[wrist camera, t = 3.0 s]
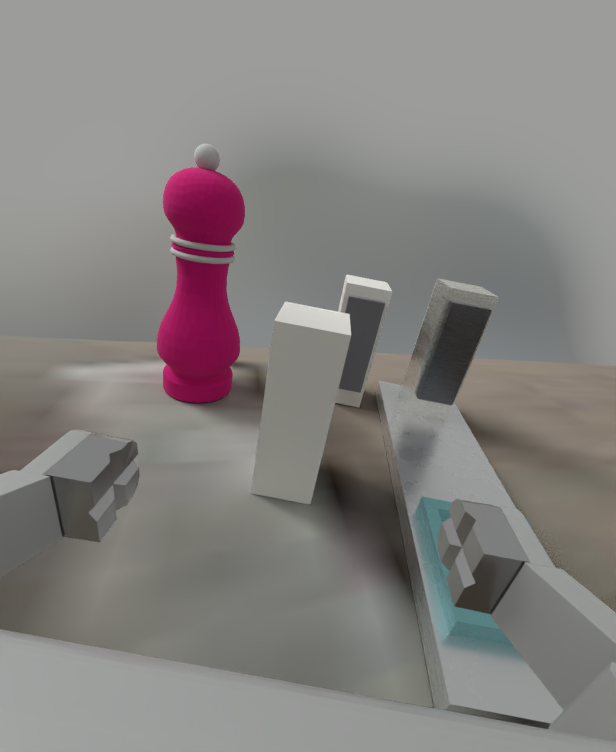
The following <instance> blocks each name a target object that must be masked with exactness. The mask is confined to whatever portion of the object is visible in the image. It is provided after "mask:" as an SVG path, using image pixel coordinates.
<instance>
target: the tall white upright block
mask: <svg viewBox="0 0 616 752" xmlns="http://www.w3.org/2000/svg"><path fill="white" fill-rule="evenodd" d="M350 339H351V326H350V314H347V313H341V312H336V311H330V310H326V309H321V308H315V307H310V306H305V305H300V304H295V303H289V302H285V303H284V305H283V307H282V308H281V310H280V312H279V314H278V315H277V317H276V319H275V320H274V327H273V334H272V342H271V349H270V356H269V363H268V371H267V378H266V386H265V393H264V400H263V408H262V415H261V423H260V430H259V437H258V445H257V452H256V459H255V467H254V474H253V482H252V489H251V493H252V494H257V495H262V496H267V497H273V498H278V499H283V500H288V501H293V502H298V503H304V504H309V505H310V504H311V500H312V496H313V492H314V488H315V484H316V479H317V475H318V471H319V467H320V463H321V459H322V455H323V450H324V446H325V442H326V438H327V434H328V430H329V426H330V422H331V417H332V413H333V409H334V405H335V401H336V397H337V393H338V389H339V384H340V380H341V376H342V372H343V368H344V364H345V360H346V355H347V351H348V347H349V343H350Z"/></svg>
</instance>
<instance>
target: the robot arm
mask: <svg viewBox="0 0 616 752" xmlns="http://www.w3.org/2000/svg"><path fill="white" fill-rule="evenodd" d="M137 455H138V449H137V443H136V442H134V441H133V440H128V439H123V438H118V437H113V436H109V435H104V434H99V433H92V432H87V431H82V430H77V429H75V430H71V431H69V432H67V433H66V434H65V435H64V436H62V437H61V438H60V439H59V440H57V441H56V442H55V443H54V444H52V445H51V446H50V447H49V448H47V449H46V450H45V451H44V452H43V453H41V454H40V455H39V456H38V457H36V458H35V459H34V460H33V461H31V462H30V463H29V464H28V465H26V466H25V467H24V468H23V469H21V470H20V471H17V470H11V471H8V472H5V473H2V474H0V578H1V577H3V576H4V575H6V574H7V573H9V572H11V571H12V570H14V569H15V568H17V567H19V566H20V565H22V564H23V563H25V562H27V561H28V560H30V559H31V558H33V557H35V556H36V555H38V554H39V553H41V552H42V551H44V550H46V549H47V548H49V547H50V546H52V545H54V544H55V543H57V542H58V541H60V540H62V539H63V537H69V538H75V539H82V540H89V541H95V542H100V541H101V540H102V538H103V537H104V536H105V534H106V533H107V532H108V530H109V529H110V528H111V526H112V525H113V523H114V522H115V521H116V519H117V518H116V510H118V509H120V508H122V507H124V506H126V505H127V504H128V503H129V501H130V500H131V498H132V497H133V495H134V493H135V490H136V488H137V485H138V481H139V467H138V466H137V465H136V463H135V462H134V461H133V459H134V458H135V457H136V456H137ZM448 511H449V513H450V516H451V518H449V519H448V520H446V521H444V522H443V523H442V525H441V527H440V530H439V533H438V543H437V544H438V553H439V556H440V560H441V562H442V563H443V564H444V566H445V567H446V568H447V569H448V570H449V571H450V572H449V574H448V576H447V578H446V581H447V584H448V587H449V591H450V594H451V597H452V601H453V604H454V607H459V608H463V609H468V610H473V611H477V612H482V613H487V614H491V618H492V619H493V620H494V621H495V623H496V624H497V625H498V627H499V628H500V629H501V630H502V632H503V633H504V634H505V636H506V637H507V638H508V639H509V641H510V642H511V643H512V645H513V646H514V647H515V648H516V650H517V651H518V652H519V654H520V655H521V656H522V657H523V659H524V660H525V661H526V663H527V664H528V665H529V666H530V668H531V669H532V670H533V672H534V673H535V674H536V676H537V677H538V678H539V679H540V681H541V682H542V683H543V685H544V686H545V687H546V688H547V690H548V691H549V692H550V694H551V695H552V696H553V697H554V699H555V700H556V701H557V703H558V704H559V705H560V706H561V708H562V709H563V710H564V711H563V712H562V713H561V714H560V715H559V716H558V717H557V718H556V719H555V720H554V721H553V722H552V723H551V724H550V726H549V728H548V729H544V728H538V727H533V726H527V725H522V724H516V723H511V722H505V721H500V720H494V719H489V718H484V717H478V716H473V715H467V714H462V713H456V712H451V711H445V710H440V709H434V708H429V707H424V706H418V705H413V704H407V703H402V702H396V701H391V700H385V699H380V698H374V697H369V696H364V695H358V694H353V693H347V692H342V691H336V690H331V689H325V688H320V687H314V686H309V685H304V684H298V683H293V682H287V681H282V680H276V679H271V678H265V677H260V676H254V675H249V674H243V673H238V672H232V671H227V670H221V669H216V668H210V667H205V666H199V665H194V664H188V663H183V662H177V661H172V660H166V659H161V658H155V657H150V656H144V655H139V654H133V653H128V652H122V651H117V650H111V649H106V648H100V647H95V646H90V645H84V644H79V643H73V642H68V641H62V640H57V639H51V638H46V637H40V636H35V635H29V634H24V633H18V632H13V631H7V630H2V629H0V752H616V613H615V612H614V611H613V610H612V609H611V608H609V607H608V606H607V605H606V604H604V603H603V602H602V601H601V600H600V599H598V598H597V597H596V596H595V595H593V594H592V593H591V592H590V591H589V590H587V589H586V588H585V587H584V586H582V585H581V584H580V583H579V582H577V581H576V580H575V579H574V578H573V577H571V576H570V575H569V574H568V573H566V572H565V571H564V570H563V569H559V568H555V566H554V564H553V563H552V561H551V560H550V558H549V556H548V555H547V553H546V551H545V550H544V548H543V547H542V545H541V543H540V542H539V540H538V538H537V537H536V535H535V533H534V532H533V530H532V529H531V527H530V525H529V524H528V522H527V520H526V519H525V517H524V515H523V514H522V513H521V512H520V511H519V510H518V509H516V508H510V507H504V506H497V505H496V506H494V505H489V504H483V503H478V502H472V501H466V500H460V499H455V500H454V501H453V502H452V503H451V505H450V507H449V509H448Z"/></svg>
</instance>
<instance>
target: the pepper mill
mask: <svg viewBox="0 0 616 752" xmlns="http://www.w3.org/2000/svg"><path fill="white" fill-rule="evenodd" d="M194 157H195V162H196V164H197V166H198V167H199V168H187V169H183V170H181V171H179V172H177V173H175V174H174V175H173V176H172V177H171V178H170V179H169V181H168V182H167V184H166V187H165V190H164V195H163V208H164V212H165V215H166V216H167V218H168V220H169V221H170V223H171V224H172V226H173V227H174V229H175V232H176V234H173V235H172V236H171V237H170V239H171V241H172V247H171V249H170V252H171V253H172V254H173V255H175V256H176V264H177V286H176V290H175V294H174V298H173V300H172V302H171V304H170V307H169V309H168V311H167V312H166V314H165V316H164V318H163V320H162V322H161V325H160V328H159V331H158V338H157V351H158V353H159V355H160V357H161V358H162V359H163V361H164V362H165V363H166V364H167V365H166V366H165V367H164V370H163V387H164V390H165V391H166V393H168V394H169V395H170V396H171V397H173V398H175V399H177V400H181V401H185V402H192V403H206V402H212V401H216V400H219V399H221V398H223V397H224V396H226V395H227V394H228V393H229V392H230V390H231V384H232V370H231V369H230V368H229V367H230V366H231V365H232V364H233V363H234V362H235V361H236V360H237V358H238V356H239V353H240V338H239V333H238V329H237V326H236V323H235V320H234V318H233V315H232V312H231V310H230V307H229V303H228V298H227V292H226V286H227V285H226V284H227V273H228V267H229V263H232V262H233V261H234V260H235V257H234V256H233V255H234V252H233V251H234V250H235V248H236V246H235V245H234V244H233V243H231V240H232V238H233V236H234V235H235V234H236V233H237V232H238V231H239V230H240V229H241V227H242V225H243V223H244V217H245V206H244V201H243V197H242V195H241V193H240V191H239V189H238V188H237V186H236V185H235V184H234V183H233V182H232V181H231V180H230V179H228V178H227V177H226V176H224V175H222V174H221V173H218V172H216V171H215V170H216V169H217V168H218V166H219V162H220V159H219V154H218V152H217V151H216V149H215V148H214V147H213V146H211V145H209V144H202V145H200V146H198V147H197V149H196V151H195V154H194Z"/></svg>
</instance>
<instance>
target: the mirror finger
mask: <svg viewBox="0 0 616 752" xmlns="http://www.w3.org/2000/svg"><path fill="white" fill-rule="evenodd" d="M391 294H392V290H391V289H390V287H389V285H388V284H387V283H386V282H381V281H376V280H371V279H366V278H361V277H356V276H351V275H346V278H345V283H344V288H343V292H342V296H341V301H340V306H339V310H338V312H341V313H347V314H350V326H351V339H350V343H349V347H348V351H347V355H346V360H345V364H344V368H343V372H342V376H341V380H340V384H339V389H338V393H337V397H336V401H335V403H339V404H344V405H349V406H354V407H360V404H361V400H362V396H363V393H364V389H365V386H366V382H367V379H368V375H369V372H370V368H371V365H372V361H373V358H374V354H375V350H376V347H377V343H378V340H379V336H380V333H381V329H382V326H383V322H384V319H385V315H386V312H387V308H388V304H389V301H390V297H391Z"/></svg>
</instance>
